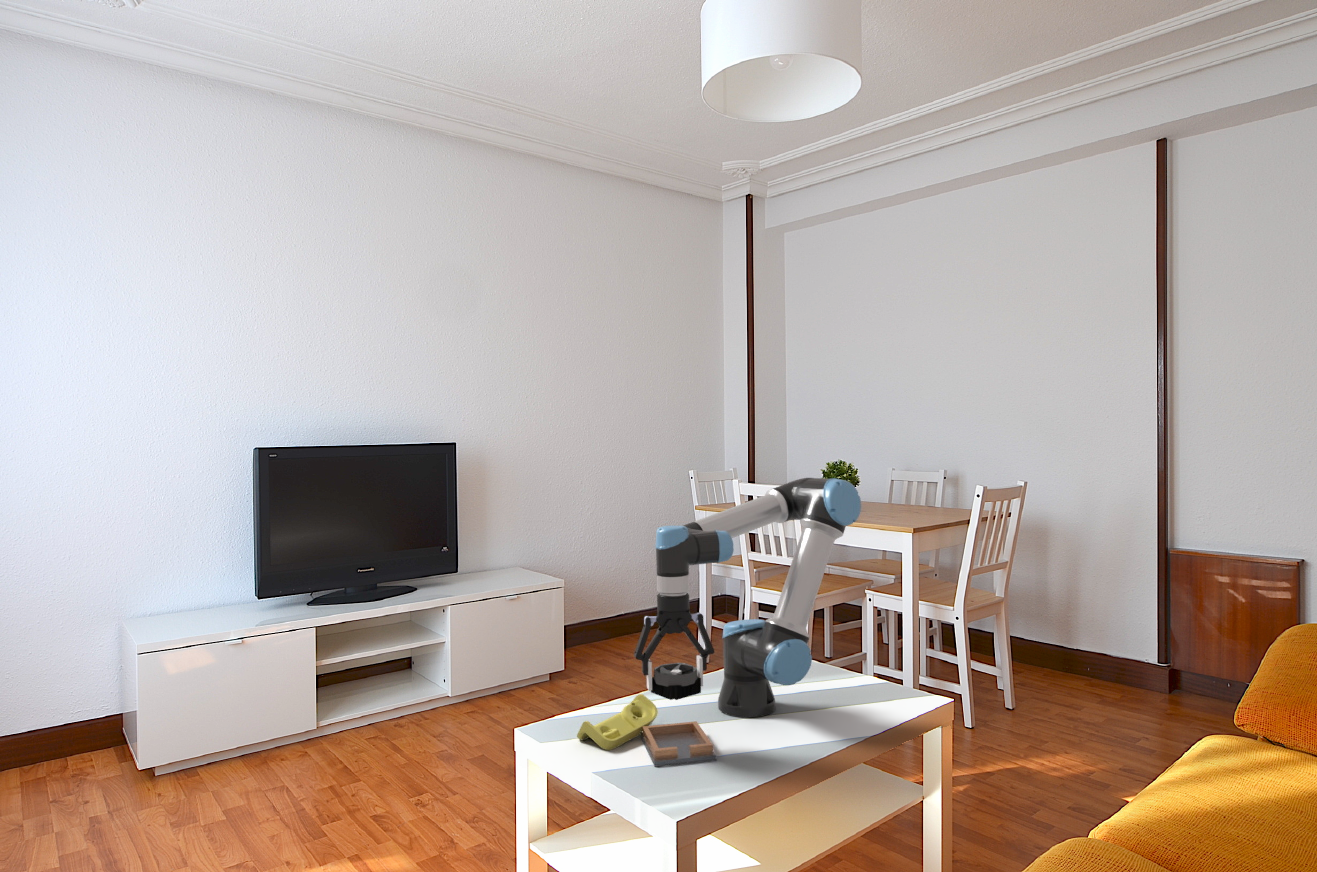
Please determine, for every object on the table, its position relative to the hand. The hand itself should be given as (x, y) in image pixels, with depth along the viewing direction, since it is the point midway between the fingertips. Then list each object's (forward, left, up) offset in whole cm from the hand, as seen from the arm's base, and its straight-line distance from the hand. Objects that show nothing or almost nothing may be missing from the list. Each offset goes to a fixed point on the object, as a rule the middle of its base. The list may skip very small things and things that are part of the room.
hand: (674, 686), depth 185 cm
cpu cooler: (0, +1, -1) cm, 2 cm away
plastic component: (+11, -11, -15) cm, 22 cm away
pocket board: (0, 0, -14) cm, 14 cm away
